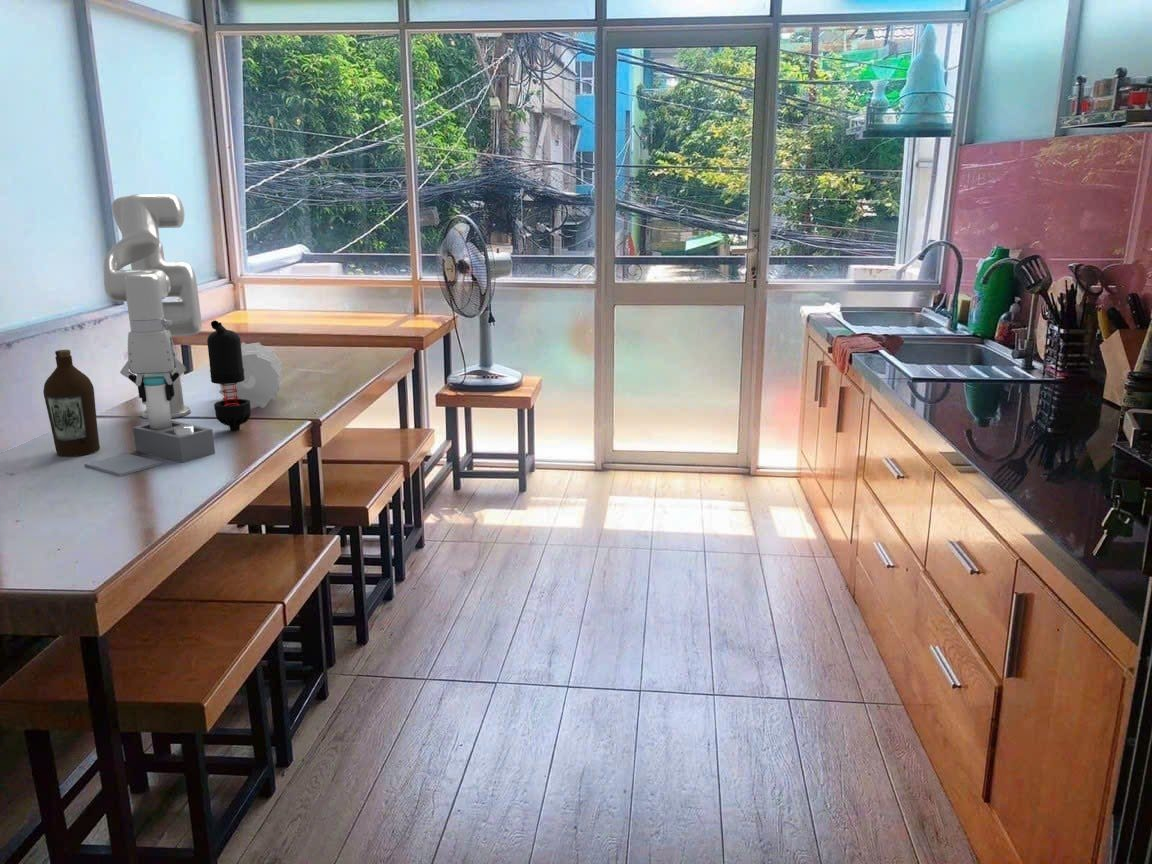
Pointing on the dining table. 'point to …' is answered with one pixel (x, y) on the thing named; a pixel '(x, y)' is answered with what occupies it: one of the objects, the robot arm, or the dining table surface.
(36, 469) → the dining table surface
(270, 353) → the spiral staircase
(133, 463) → the mat
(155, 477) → the dining table surface
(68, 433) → the olive oil
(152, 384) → the cylinder
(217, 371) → the filter
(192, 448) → the housing
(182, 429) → the silver metallic cylinder
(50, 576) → the dining table surface
